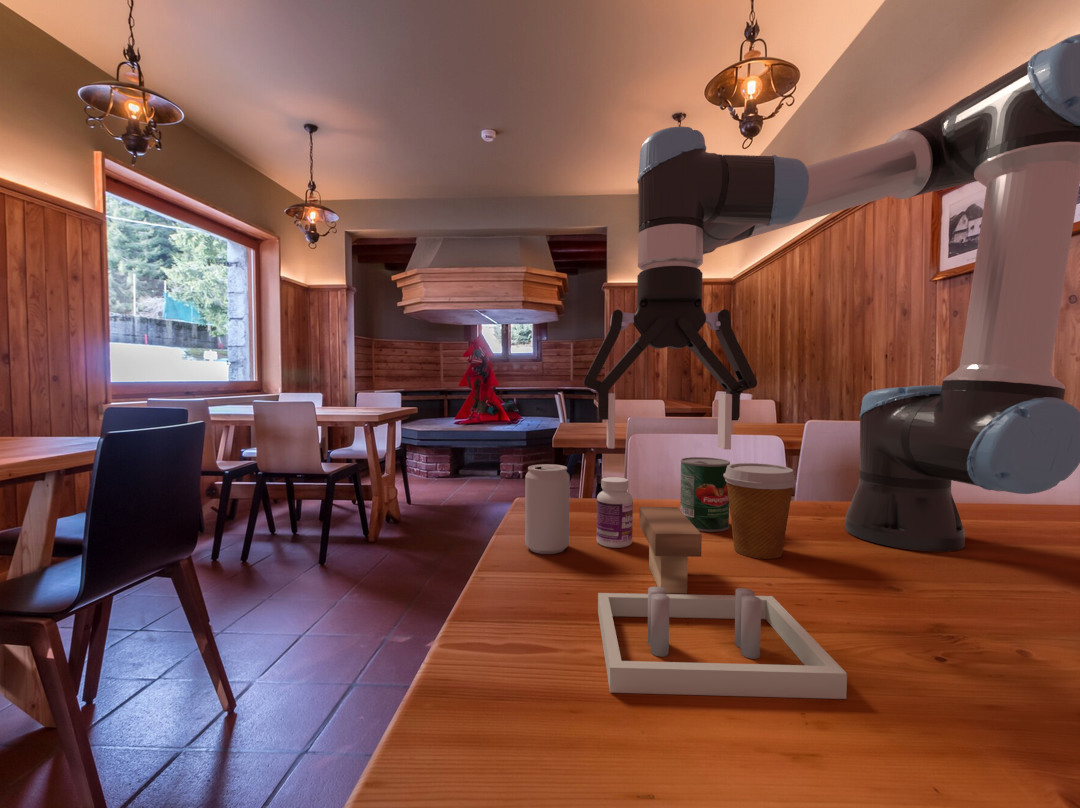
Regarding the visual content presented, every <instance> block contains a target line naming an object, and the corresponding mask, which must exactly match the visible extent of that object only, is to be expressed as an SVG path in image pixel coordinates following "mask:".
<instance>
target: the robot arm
mask: <svg viewBox="0 0 1080 808" xmlns="http://www.w3.org/2000/svg"><path fill="white" fill-rule="evenodd" d="M638 162H639V163H638V176H637V180H636V181H637V185H638V187H637V190H638V191H637V192H638V193H637V195H638V199H637V200H638V231H637V233H638V236H637V237H638V239H637V267H638V269H639V270H641V271H640V272H639V273H638V275H637V278H636V281H637V283H636V284H637V287H636V289H637V293H636V294H637V295H636V296H637V297H636V301H637V302H636V309H635V312H634V313H633V312H632V313H631V312H625V311H622V310H621V309H615V310H614V311H613V312H612V314H611V315H610V320H609V328H608V329H609V330H608V331H607V333H606V336H605V338H604V340H603V341H602V344H601V346H600V347H599V350H598V351H597V353H596V356H595V357H594V359H593V361H592V363H591V365H590V367H589V370H588V371H587V373H586V375H585V377H584V379H583V381H582V382H583V384H582V385H584V387H585V388H588V389H591V390H593V391H595V392H596V394H597V418H598V419H599V420H603V421H606V447H607V449H615V448H616V447H615V446H616V445H615V443H616V441H615V440H616V439H615V438H616V436H615V435H616V393H614V392H610V390H611V388H612V387H613V386H614V385H615V384H616V382H617V381H618V380H619V379H620V378H621V377H622V376H623V375H624V373H625V372H626V371H627V370H628V368H630V366H631V365H632V364H633V363H634V362H635V361H636V360H637V358H638V357H639V356H640V355H641V354H642V353H643V351H644V350H645V349H647V347H648V346H649V347H650V348H652V349H655V350H660V349H664V348H669V349H672V350H676V349H677V350H680V349H683V348H688V349H689V351H691V352H692V353H693V354H694V355H695V356H696V357H697V358H698V360H699V361H700V362H701V363H702V365H703V366H704V367H705V368H706V369H707V371H708V372H709V373H710V374H711V376H713V378H714V379H715V380H716V381H717V383H718V384H719V385H720V386H721V388H722V389H723V390H724V391H725V393H718V399H717V400H718V402H717V403H718V404H717V405H718V406H717V407H718V409H717V411H718V413H717V447H718V448H721V449H722V450H732V422H733V421H738V420H739V418H741V417H740V416H741V415H740V414H741V412H740V411H741V394H742V393H743V392H745V391H747V390H749V389H753V388H754V389H755V388H756V387H757V386H758V380H757V378H756V376H755V373H754V371H753V369H752V368H751V366H750V363H749V361H748V360H747V359H748V358H747V357H746V355H745V354H744V351H743V350H742V349H743V348H742V347H741V345H740V342H739V341H738V338H737V337H736V335H735V333H734V331H733V329H732V322H731V321H732V320H731V312H730V311H729V310H728V309H727V308H726V309H725V308H724V309H721V310H719V311H715V312H713V311H712V312H704V309H703V271H702V270H701V269H700V267H701V266H702V265H703V264H704V263H703V262H704V256H705V255H706V254H707V255H708V254H709V253H712V252H715V250H716V249H718V248H721V247H723V246H727V245H730V244H734V243H737V242H741V241H743V240H747V239H749V238H752V237H756V236H758V235H762V234H766V233H770V232H773V231H776V230H779V229H783V228H786V227H790V226H793V225H796V224H800V223H803V222H807V221H811V220H814V219H816V218H817V219H818V218H821V217H824V216H828V215H831V214H834V213H838V212H841V211H844V210H848V209H851V208H854V207H858V206H861V205H865V204H869V203H871V202H876V201H879V200H882V199H886V198H889V197H890V198H893V199H897V200H905V199H909V198H913V197H916V196H920V195H923V194H928V193H932V192H936V191H941V190H945V189H946V190H947V189H950V188H956V187H960V186H963V185H968V184H972V183H976V182H979V183H980V184H981V185H983V186H984V187H985V188H986V190H985V194H984V202H983V209H982V214H981V215H982V216H981V223H980V228H979V229H980V230H979V235H978V236H979V237H978V242H977V249H976V254H975V255H976V256H975V262H974V263H975V264H974V267H973V275H972V282H971V288H970V289H971V290H970V295H969V303H968V308H967V316H966V321H965V329H964V334H963V335H964V336H963V340H962V341H963V343H962V347H961V354H960V360H959V366H958V367H957V369H956V370H954V371H953V372H952V373H950V374H948V375H947V376H945V377H943V379H942V382H941V383H942V384H941V385H939V384H938V385H931V384H930V385H910V386H903V387H902V386H899V387H888V388H880V389H875V390H871V391H868V392H867V393H866V394H864V396H863V397H862V400H861V407H860V413H859V415H858V416H859V474H858V475H859V477H858V484H857V487H856V489H855V491H854V492H855V493H854V494H853V497H852V499H851V502H850V504H849V506H848V509H847V512H846V514H845V522H844V523H845V525H844V526H845V527H844V528H845V529H844V530H845V531H846V532H847V533H848V534H850V535H852V536H854V537H856V538H859V539H861V540H864V541H867V542H871V543H874V544H878V545H881V546H882V545H883V546H887V547H892V548H898V549H903V550H904V549H905V550H912V551H922V552H937V553H938V552H953V551H960V550H962V549H963V548H964V547H965V546H966V545H965V543H966V538H965V537H966V532H965V528H964V526H963V521H962V519H961V517H960V514H959V511H958V508H957V505H956V502H955V500H954V497H953V494H952V481H954V482H958V483H962V484H967V485H970V486H976V487H979V488H982V489H983V490H986V491H995V492H1005V493H1011V494H1012V493H1013V494H1018V495H1019V494H1020V495H1031V494H1038V493H1042V492H1045V491H1048V490H1051V489H1052V488H1054V487H1057V486H1058V485H1059V484H1060V482H1062V481H1066V480H1067V479H1068V478H1069V477H1070V476H1071V475H1072V474H1073V473H1074V472H1075V470H1076V469H1078V466H1079V465H1080V410H1079V409H1078V408H1077V407H1075V406H1074V405H1073V404H1071V403H1069V402H1066V401H1065V393H1066V385H1064V384H1063V382H1061V381H1060V380H1058V379H1057V378H1056V377H1055V376H1054V375H1053V373H1052V372H1051V370H1052V362H1053V356H1054V348H1055V343H1056V337H1057V330H1058V324H1059V318H1060V312H1061V305H1062V298H1063V293H1064V286H1065V279H1066V273H1067V269H1068V268H1067V267H1068V262H1069V261H1068V259H1069V255H1070V254H1069V253H1070V249H1071V242H1072V234H1073V228H1074V222H1075V216H1076V210H1077V204H1078V203H1077V202H1078V196H1079V191H1080V33H1079V34H1074V35H1072V36H1068V37H1066V38H1065V39H1063V40H1061V41H1059V42H1057V43H1055V44H1054V45H1052V46H1050V47H1048V48H1046V49H1042V50H1039V51H1037V52H1036V53H1034V55H1032V56H1031V57H1030V58H1029V60H1027V61H1025V62H1024V63H1022V64H1021V65H1019V66H1016V67H1015V68H1013V69H1012V70H1010V71H1009V72H1007V73H1005V74H1003V75H1002V76H999V78H996V79H995V80H993V81H992V82H990V83H988V84H986V85H984V86H983V87H980V88H979V89H978V90H976V91H974V92H972V93H971V94H969V95H968V96H966V97H964V98H962V99H960V100H959V101H957V102H955V103H954V104H952V105H951V106H949V107H948V108H946V109H944V110H943V111H941V112H939V113H937V114H936V115H935V116H933V117H931V118H929V119H928V120H925V121H924V122H922V123H919V124H918V125H916V126H913V127H911V128H908V129H904V130H901V131H897V132H896V133H894V134H892V135H891V136H890V137H889V138H888V139H887V140H886V141H885V143H884V142H883V143H881V144H878V145H874V146H871V147H868V148H864V149H859V150H857V151H854V152H850V153H846V154H843V155H840V156H837V157H833V158H830V159H827V160H823V161H819V162H816V163H812V164H808V165H806V164H805V163H804V162H803V161H802V160H800V159H798V158H792V157H784V156H777V155H776V154H772V155H748V154H747V155H744V154H741V155H740V154H739V155H738V154H718V153H716V152H707V146H706V141H705V136H704V134H703V133H702V132H701V131H700V130H696V129H693V128H692V127H690V126H673V127H672V126H671V127H667V128H662V129H660V130H657V131H655V132H654V133H652V134H651V135H649V136H648V137H647V138H646V139H645V140H644V142H643V143H642V145H641V147H640V153H639V161H638ZM631 323H632V324H633V325H634V327H635V329H636V330H637V331H638V332H639V334H640V336H639V337H638V338H637V339H636V340H635V342H633V344H632V346H630V348H629V349H628V350H627V351H626V352H625V354H623V356H622V357H621V358H620V359H619V360H618V362H617V363H616V364H615V365H614V367H613V368H612V369H611V370H609V372H608V373H607V375H606V376H605V377H604V378H603V379H602V380H601V381H600V380H598V379H597V378H598V377H599V375H600V372H601V371H602V369H603V367H604V366H605V363H606V361H607V360H608V357H609V355H610V354H611V351H612V350H613V347H614V345H615V344H616V342H617V339H618V337H619V335H620V334H621V333H620V332H621V331H625V330H626V329H627V328H628V325H629V324H631ZM705 324H707V325H708V326H709V328H710V330H712V331H714V332H715V335H716V338H717V340H718V343H719V344H720V346H721V348H722V350H723V352H724V354H725V356H726V358H727V361H728V363H729V364H730V366H731V368H732V371H733V373H734V375H735V377H736V378H735V377H734V375H733V374H732V373H731V372H730V371H729V370H728V368H727V367H726V366H725V365H724V363H723V362H722V361H721V360H720V359H719V357H718V356H717V355H716V354H715V353H714V351H712V349H711V348H710V347H709V345H708V344H707V342H706V340H705V339H704V338H703V337H702V336H701V334H699V332H700V330H701V329H702V327H703V326H704V325H705Z"/></svg>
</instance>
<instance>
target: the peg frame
mask: <svg viewBox="0 0 1080 808" xmlns="http://www.w3.org/2000/svg"><path fill="white" fill-rule="evenodd" d="M597 614H598V619H599V620H598V621H599V627H600V635H601V641H602V648H603V652H604V653H603V654H604V655H603V656H604V662H605V667H606V669H605V670H606V674H607V676H606V677H607V681H608V687H609V693H610V694H611V693H614V694H615V693H617V694H647V695H648V694H649V695H650V694H654V695H683V696H684V695H685V696H686V695H688V696H725V697H726V696H728V697H758V698H759V697H761V698H762V697H764V698H765V697H766V698H792V699H793V698H797V699H799V698H800V699H827V700H828V699H831V700H832V699H836V700H847V692H848V691H847V687H848V685H847V684H848V681H847V680H848V674H847V672H846V671H845V670H844V669H843V668H842V667H841V665H840V664H839V663H838V662H836V660H835V659H834V658H833V657H832V656H831V655H830V654H829V652H827V651H826V650H825V648H823V647H822V645H820V644H819V643H818V642H817V641H816V640H815V639H814V637H812V636H811V635H810V634H809V632H808V631H807V630H806V629H805V628H803V625H801V624H800V623H799V622H798V621H797V620H796V619H795V618H794V617H793V616H792V615H791V614H790V613H789V612H788V611H787V610H786V609H785V608H784V607H783V606H782V604H780V602H779V601H778V600H777V599H775V597H774V596H773V595H755V591H754V590H752V589H750V588H745V587H740V588H739V587H738V588H736V589H735V594H733V595H731V594H730V595H729V594H728V595H727V594H724V595H723V594H684V593H666V590H665V589H664V588H662V587H658V586H657V585H656V586H649V587H648V588H647V593H629V592H628V593H621V592H620V593H619V592H617V593H615V592H598V593H597ZM614 617H633V618H634V617H635V618H636V617H638V618H641V617H643V618H647V644H648V645H649V646H650V653H651V654H652V655H653V656H656V657H660V658H661V657H667V656H668V655H669V654H670V618H684V619H685V618H686V619H687V618H689V619H727V620H728V619H729V620H730V619H731V620H733V619H734V646H736V647H737V648H739V649H740V654H741V656H743V657H744V658H747V659H751V660H756V659H757V660H758V659H759V658H760V657H761V628H762V627H761V626H762V624H761V622H762V620H765V621H767V623H768V624H769V625H770V626H771V627H772V628H773V630H774V631H775V632H776V633H777V634H778V636H779V637H781V640H783V641H784V643H785V644H786V645H787V646H788V647H789V649H791V651H792V652H793V653H794V655H795V656H796V657H797V658H798V659H799V660H800V662H801V663H802V664H794V665H793V664H770V663H769V664H768V663H767V664H766V663H763V664H762V663H760V664H759V663H727V662H726V663H723V662H722V663H721V662H719V663H718V662H717V663H715V662H683V661H682V662H681V661H680V662H679V661H677V662H676V661H647V660H646V661H640V660H638V661H637V660H622V656H621V652H620V647H619V646H620V645H619V642H618V638H617V631H616V627H615V623H614V619H613V618H614Z"/></svg>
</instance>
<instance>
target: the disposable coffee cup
mask: <svg viewBox="0 0 1080 808" xmlns="http://www.w3.org/2000/svg"><path fill="white" fill-rule="evenodd" d="M723 475H724V477H725V481H726V482H727V489H728V497H729V516H730V524H731V530H732V531H731V532H732V539H733V549H734V551H735V552H736V553H738V554H740V555H743V556H745V557H750V558H753V559H761V560H763V559H764V560H765V559H767V560H769V559H777V558H781V557H782V555H783V549H784V544H785V539H786V531H787V525H788V519H789V513H790V508H791V506H790V505H791V500H792V494H793V490H794V489H793V488H794V487H795V483H796V482H797V480H798V479H797V477H795V474H794V470H793V468H790V467H789V466H783V465H776V464H768V463H756V462H754V463H753V462H742V463H741V462H739V463H738V462H737V463H730V465H728V466H727V469H726V473H724V474H723Z"/></svg>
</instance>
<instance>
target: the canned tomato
mask: <svg viewBox="0 0 1080 808" xmlns="http://www.w3.org/2000/svg"><path fill="white" fill-rule="evenodd" d="M730 464H731V461H730V460H727V459H724V458H717V457H716V458H715V457H704V456H702V457H700V456H699V457H698V456H693V457H692V456H691V457H684V458H681V459H680V502H679V503H680V508H679V509H680V511H681V512H682V513H683V514H684V515H685V516H686V517H687V518H688V520H689V521H690V522H691V523H692V524H693V525H694V526H695V527H696V528H697V530H698V531H699V532H703V533H704V532H705V533H706V532H707V533H718V532H719V533H720V532H724V531H728V530H729V528H730V506H729V497H728V489H727V482H726V481H725V477H724V475H723V474H724V473H726V469H727V466H728V465H730Z"/></svg>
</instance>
